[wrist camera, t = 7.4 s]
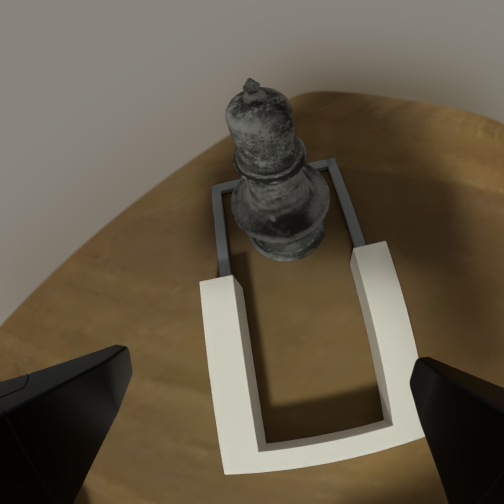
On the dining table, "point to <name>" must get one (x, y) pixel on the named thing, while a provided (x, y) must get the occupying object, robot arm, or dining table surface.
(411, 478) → the dining table surface
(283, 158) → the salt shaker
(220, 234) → the frame
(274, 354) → the dining table surface
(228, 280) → the u-shaped bracket
